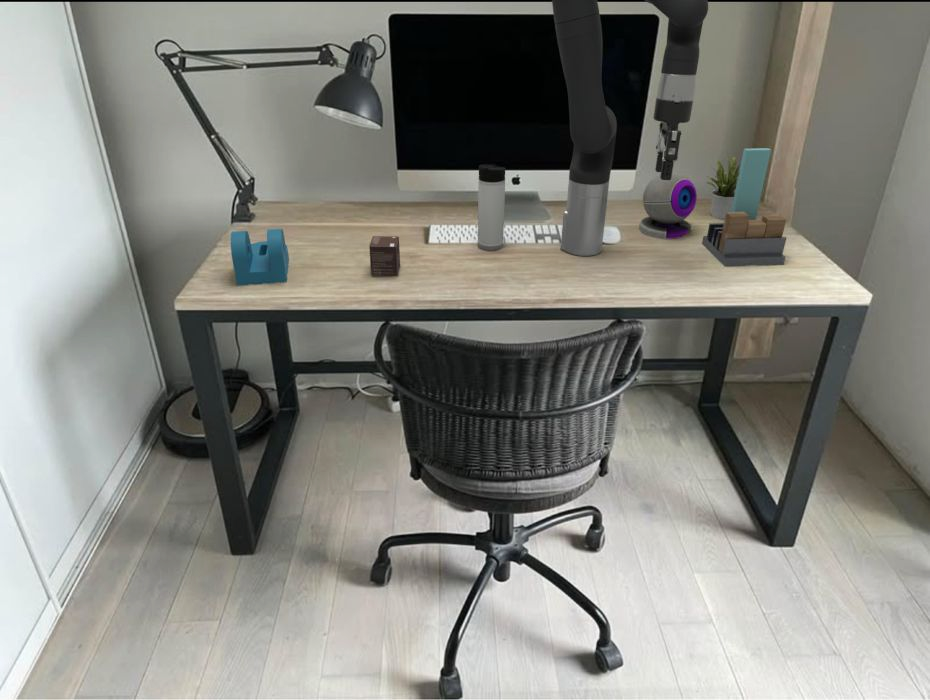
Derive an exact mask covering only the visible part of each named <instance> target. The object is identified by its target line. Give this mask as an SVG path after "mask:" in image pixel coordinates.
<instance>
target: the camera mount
mask: <svg viewBox="0 0 930 700" xmlns="http://www.w3.org/2000/svg"><path fill="white" fill-rule="evenodd" d="M230 252H231V253H230V254H231V259H232V264H233V270H234V276H235V282H236V286H237V285H239V286H249V285H248V284H253V285H263V284H262V283H267V284H276V283H275V282H280V283H287V281H288V275H289V274H288V273H289V265H288V264H289V262H290V255H289V249H288V246H287V244H286V239H285V233H284V230H283V228H271V229H270V228H269V229H267V230H266V240H263V241H257V242H254V243H252V242H251V238H250V234H249V232H248V231H247V230H238V231H231V233H230ZM287 274H288V275H287Z"/></svg>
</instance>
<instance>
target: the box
mask: <svg viewBox="0 0 930 700" xmlns="http://www.w3.org/2000/svg"><path fill="white" fill-rule="evenodd" d="M368 246H369V259H370V260H369V262H370V275H371V277H398V276H399V272H400V268H401V255H400V253H401V252H400V250H401V249H400V237H399V236H392V235H391V236H384V235H383V236H381V235H379V236H377V235H376V236H375V235H374V236H372V238H371V240H370V243H369V245H368Z"/></svg>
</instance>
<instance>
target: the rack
mask: <svg viewBox="0 0 930 700" xmlns="http://www.w3.org/2000/svg"><path fill="white" fill-rule="evenodd" d="M708 224H709V225H708V230H707V234H706V235H703V237H702V242H701V244H702V245H703V246H704V247H705V248H706V249H707V250H708V251H709V253H711V254H712V256H713V257H715V258H716V260H717V261H718V262H721V263H722V264H723V265H724V266H723V265H722V264H721V263H720V264H721V265H722V266H723V267H743V266H744V267H746V266H745V265H755V266H783V265H784V263H785V259H786V256H785V255H784V250H785V247H786V246H785V245H786V242H787V237H786V236H782V237H754V238H726V239H725V243H724V248H723V253H722V252H721V251H720V250H719V245H720V240H721V236H722V231H723V226H724V222H717V223H715V222H713V223H711V222H710V223H708ZM740 265H742V266H740Z"/></svg>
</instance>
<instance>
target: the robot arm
mask: <svg viewBox="0 0 930 700" xmlns="http://www.w3.org/2000/svg"><path fill="white" fill-rule="evenodd" d="M644 1H645V2H646V3H648V4H651V5H652V6H654V7H655V8H656V9H657V10H658V11H659V12H661V13H662V14H663V15H664V16H666V17H667V18H668V21H667V22H668V24H667V34H666V45H665V49H664V53H663V57H662V64H661V71H660V72H661V73H660V76H659V80H658V84H657V89H656V90H657V91H656V97H655V103H654V110H653V120H655V121H656V122H660V123H659V125H658V126H659V130H658V133H657V134H658V135H657V141H656V146H655V149H656V156H657V157H656V163H655V167H654V168H655V172H656V173H660V174H661V176H660V178H661V179H662V180H670V179H671V177H672V172H673V168H674V163H675V162H676V161H678V155H679V149H680V143H681V137H682V136H681V135H682V130H679V124H684V123H685V124H686V123H689V122H690V120H691V118H692V117H691V116H692V110H693V105H694V104H693V103H694V98H695V91H696V86H697V85H696V80H697V78H696V77H697V73H698V72H697V71H698V66H699V59H700V40H701V36H702V29H703V24H704V20H705V19H706V17H707V15H708V11H709V2H708V0H644ZM551 5H552V13H553V21H554V29H555V33H556V39H557V41H556V42H557V47H558V50H559V56H560V63H561V65H562V70H563V71H562V72H563V75H564V79H565V84H566V88H567V97H568V98H567V99H568V114H569V132H570V138H571V141H572V142H573V151H572V157H571V162H570V166H569V173H568V185H567V199H566V209H565V210H563V214H562V215H563V216H562V227H561V240H560V250H561V251H564V252H566V253H568V254H570V255H573V256H583V257H587V256H588V257H589V256H595V255H598V254H601V252H602V250H603V243H604V233H605V225H606V224H605V223H606V217H607V215H606V214H607V206H608V198H609V197H608V196H609V187H610V186H609V185H610V179H611V178H610V177H611V170H612V166H613V161H614V153H615V148H616V147H615V145H616V138H617V129H618V128H617V125H618V123H617V118H616V116H615V113H614V112H613V110H612V109H611V108H610V107H609V106H607V105H606V101H605V98H604V97H605V96H604V92H603V84H602V83H603V81H602V73H603V71H602V68H603V30H602V29H603V28H602V21H601V14H600V9H599V3H598V0H551Z"/></svg>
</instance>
